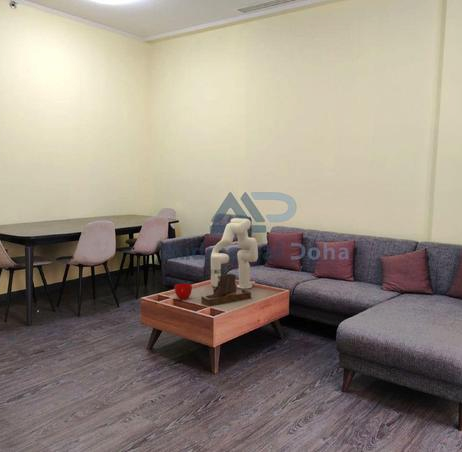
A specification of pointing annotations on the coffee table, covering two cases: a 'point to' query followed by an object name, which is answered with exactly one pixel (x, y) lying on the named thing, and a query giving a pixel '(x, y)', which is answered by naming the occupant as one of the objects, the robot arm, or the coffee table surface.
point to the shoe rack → (226, 298)
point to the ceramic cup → (183, 291)
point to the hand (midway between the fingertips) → (215, 295)
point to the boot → (225, 286)
